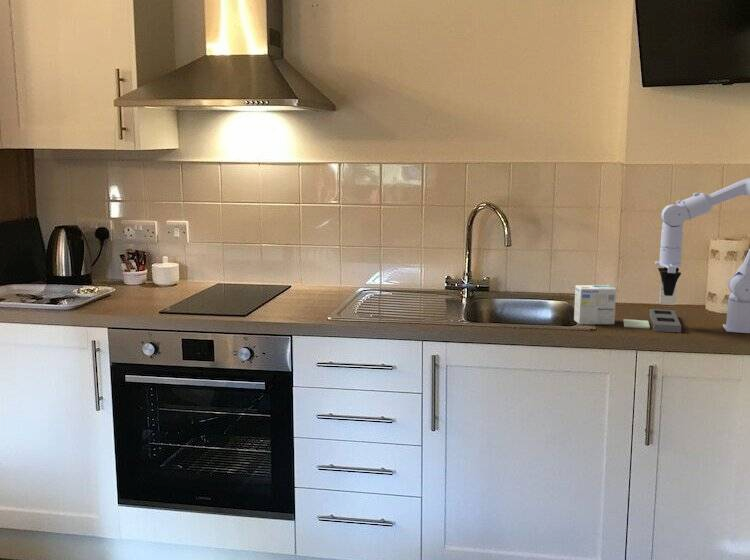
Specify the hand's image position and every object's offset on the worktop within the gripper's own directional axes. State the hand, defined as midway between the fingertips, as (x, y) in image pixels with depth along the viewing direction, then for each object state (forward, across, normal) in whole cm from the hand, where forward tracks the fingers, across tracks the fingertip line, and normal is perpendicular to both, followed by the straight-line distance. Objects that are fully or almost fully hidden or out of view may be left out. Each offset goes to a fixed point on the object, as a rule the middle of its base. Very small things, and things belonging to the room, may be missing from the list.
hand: (667, 294), depth 230 cm
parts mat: (+10, 0, -8) cm, 12 cm away
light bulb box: (+10, 0, -20) cm, 22 cm away
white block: (+3, 0, 0) cm, 3 cm away
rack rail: (+10, -3, 0) cm, 10 cm away
